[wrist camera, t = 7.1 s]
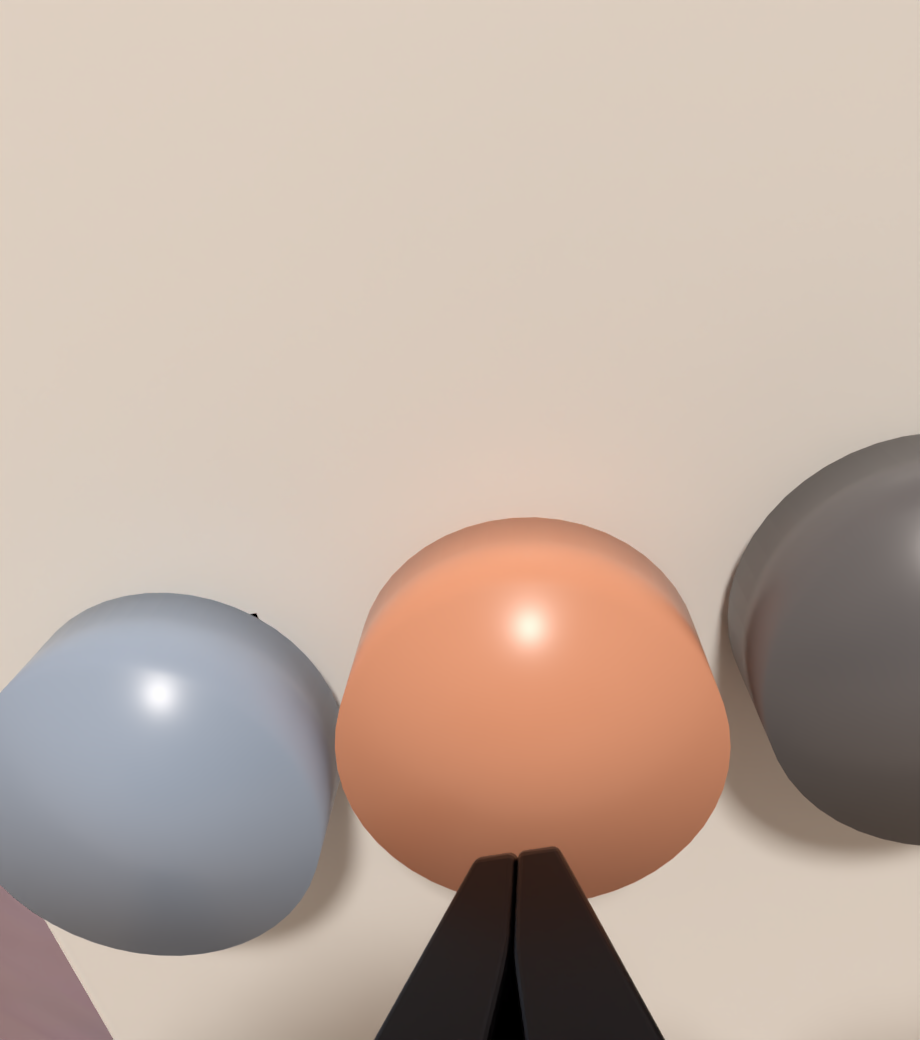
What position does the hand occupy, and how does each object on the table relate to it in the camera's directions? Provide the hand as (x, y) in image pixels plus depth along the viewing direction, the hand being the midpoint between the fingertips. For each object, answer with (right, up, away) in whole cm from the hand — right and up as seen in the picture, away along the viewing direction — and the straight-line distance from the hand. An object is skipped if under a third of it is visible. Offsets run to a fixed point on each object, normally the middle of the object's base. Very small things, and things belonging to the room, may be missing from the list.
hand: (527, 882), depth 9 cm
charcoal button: (+5, +3, +4) cm, 7 cm away
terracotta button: (0, +2, +5) cm, 5 cm away
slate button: (-4, +1, +5) cm, 7 cm away
